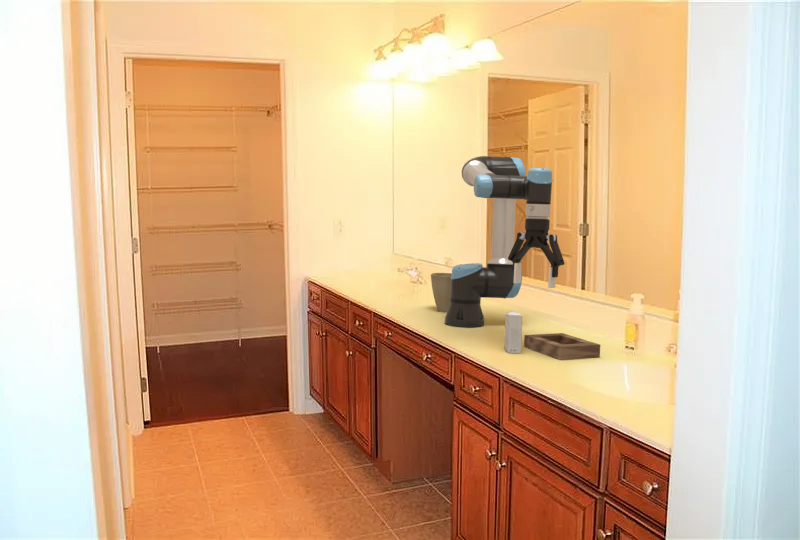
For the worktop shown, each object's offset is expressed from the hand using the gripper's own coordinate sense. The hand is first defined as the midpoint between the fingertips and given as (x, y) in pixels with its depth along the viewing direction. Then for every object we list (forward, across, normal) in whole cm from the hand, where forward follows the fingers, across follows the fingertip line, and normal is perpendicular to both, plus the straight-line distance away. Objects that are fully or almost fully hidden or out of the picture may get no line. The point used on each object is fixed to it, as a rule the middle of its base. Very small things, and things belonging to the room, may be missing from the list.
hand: (533, 285), depth 208 cm
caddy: (+21, +6, +7) cm, 23 cm away
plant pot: (+21, -71, +33) cm, 81 cm away
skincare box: (+21, -3, -6) cm, 22 cm away
